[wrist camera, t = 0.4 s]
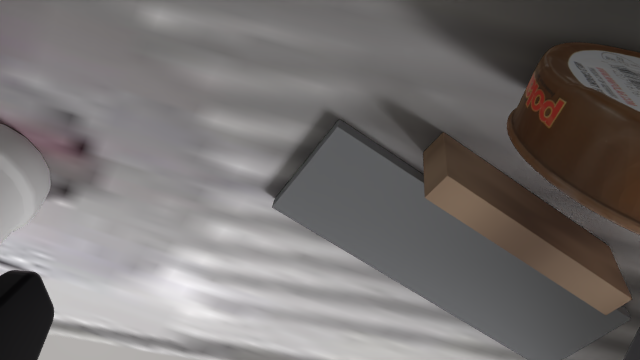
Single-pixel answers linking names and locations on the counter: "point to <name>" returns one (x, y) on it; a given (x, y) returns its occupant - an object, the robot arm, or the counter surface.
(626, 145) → the tin
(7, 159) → the bottle
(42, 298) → the robot arm
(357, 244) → the grey plank
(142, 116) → the counter surface
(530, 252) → the tan wooden plank
